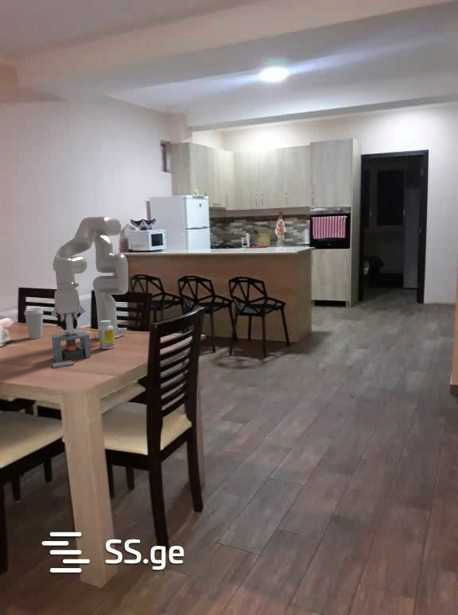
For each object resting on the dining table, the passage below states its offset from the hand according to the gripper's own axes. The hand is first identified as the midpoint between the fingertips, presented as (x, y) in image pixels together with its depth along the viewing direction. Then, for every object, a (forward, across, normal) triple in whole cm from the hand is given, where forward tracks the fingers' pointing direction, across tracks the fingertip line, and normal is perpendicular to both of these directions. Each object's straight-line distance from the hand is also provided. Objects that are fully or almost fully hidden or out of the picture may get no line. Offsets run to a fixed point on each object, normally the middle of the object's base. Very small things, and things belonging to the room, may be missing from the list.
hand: (69, 328), depth 217 cm
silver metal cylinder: (+7, 0, 0) cm, 7 cm away
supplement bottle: (+13, -18, -9) cm, 24 cm away
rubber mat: (+13, +6, +10) cm, 17 cm away
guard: (+13, 0, 0) cm, 13 cm away
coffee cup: (+13, +7, -55) cm, 57 cm away
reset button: (+10, 0, 0) cm, 10 cm away
